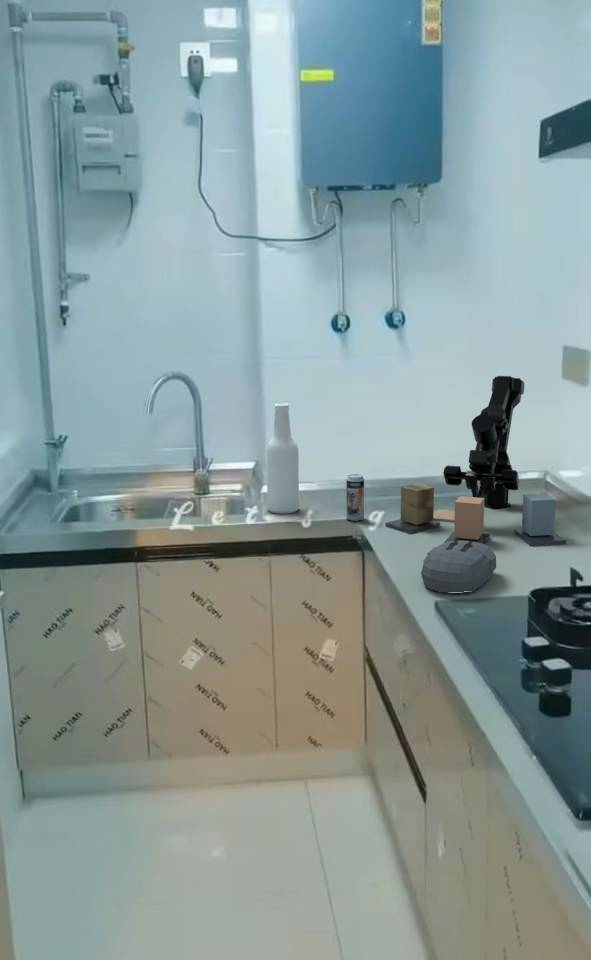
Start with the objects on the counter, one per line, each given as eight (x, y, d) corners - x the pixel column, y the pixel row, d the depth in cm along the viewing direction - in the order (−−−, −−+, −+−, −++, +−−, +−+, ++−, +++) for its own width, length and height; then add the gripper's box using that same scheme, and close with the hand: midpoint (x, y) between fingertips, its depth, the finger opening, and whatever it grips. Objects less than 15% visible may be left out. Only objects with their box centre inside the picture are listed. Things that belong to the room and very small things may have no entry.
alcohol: (271, 505, 268) (269, 401, 261) (301, 506, 266) (300, 401, 259) (264, 513, 259) (262, 406, 252) (295, 515, 258) (294, 406, 251)
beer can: (343, 520, 252) (343, 476, 249) (350, 516, 256) (350, 473, 253) (359, 522, 249) (359, 478, 247) (367, 518, 254) (367, 474, 251)
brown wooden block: (417, 516, 250) (417, 483, 248) (433, 520, 245) (434, 487, 243) (400, 520, 247) (401, 486, 244) (416, 524, 242) (417, 491, 240)
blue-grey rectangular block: (521, 529, 237) (523, 494, 235) (544, 527, 238) (546, 493, 236) (530, 536, 231) (532, 500, 229) (554, 534, 232) (555, 499, 230)
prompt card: (437, 511, 259) (437, 509, 259) (470, 514, 256) (470, 512, 256) (429, 519, 251) (429, 517, 251) (462, 523, 248) (462, 520, 248)
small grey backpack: (438, 564, 216) (408, 591, 199) (439, 529, 214) (409, 554, 197) (503, 572, 209) (478, 602, 192) (504, 537, 207) (479, 563, 190)
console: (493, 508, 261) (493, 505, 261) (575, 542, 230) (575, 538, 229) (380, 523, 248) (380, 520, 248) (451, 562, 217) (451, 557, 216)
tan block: (459, 530, 236) (460, 496, 234) (483, 533, 234) (484, 498, 232) (454, 537, 231) (454, 501, 229) (478, 539, 229) (479, 504, 227)
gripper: (445, 434, 242) (434, 485, 235) (519, 439, 235) (509, 491, 228) (452, 458, 251) (441, 508, 244) (522, 463, 244) (513, 515, 237)
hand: (475, 505), depth 238 cm, fingers closed
